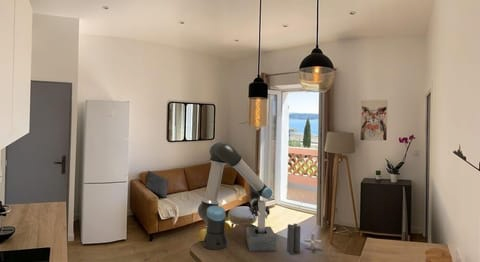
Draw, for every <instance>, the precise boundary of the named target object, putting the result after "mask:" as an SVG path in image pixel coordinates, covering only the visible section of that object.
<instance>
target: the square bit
mask: <svg viewBox="0 0 480 262" xmlns="http://www.w3.org/2000/svg"><path fill="white" fill-rule="evenodd" d="M265 207H266V201H265V200H264V199H263V200H261V201H258V212H259V214H260V219H258V218H257V227H258V234H265V227H266V218H265V210H266V209H265Z"/></svg>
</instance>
